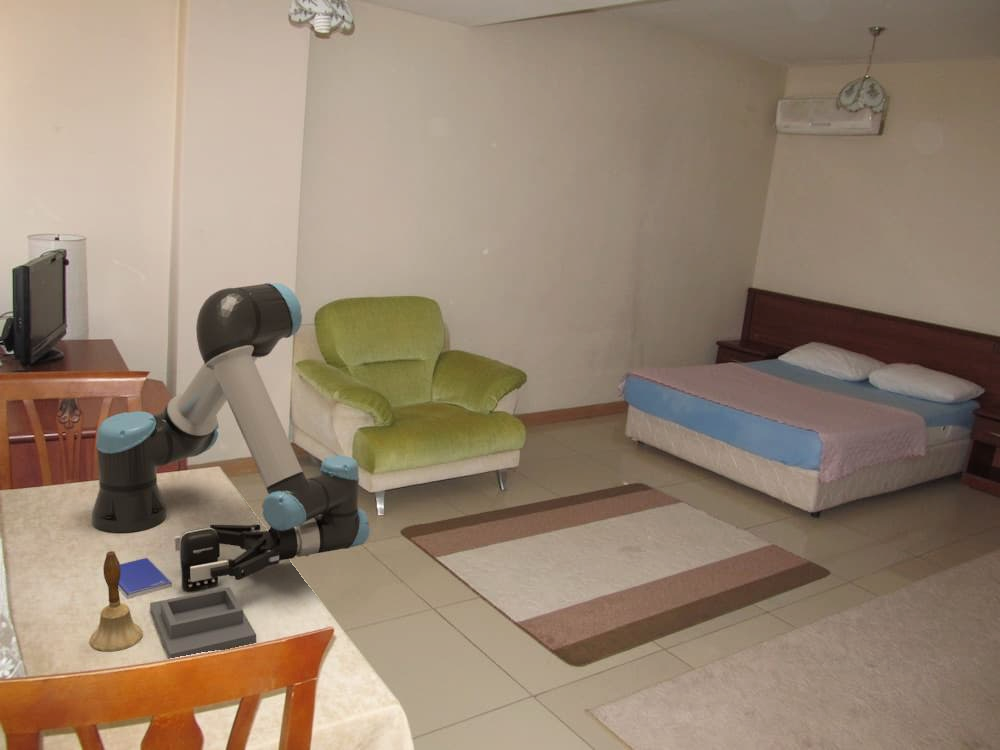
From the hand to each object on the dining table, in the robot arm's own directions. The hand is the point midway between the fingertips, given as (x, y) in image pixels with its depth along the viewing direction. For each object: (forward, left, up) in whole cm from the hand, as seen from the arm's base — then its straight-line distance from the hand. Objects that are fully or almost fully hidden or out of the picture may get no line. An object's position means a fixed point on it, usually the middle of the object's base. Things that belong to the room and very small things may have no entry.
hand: (182, 558), depth 159 cm
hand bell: (+12, -13, -7) cm, 19 cm away
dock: (+14, 0, -7) cm, 15 cm away
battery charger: (0, +3, -7) cm, 8 cm away
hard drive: (-8, -7, -7) cm, 13 cm away
